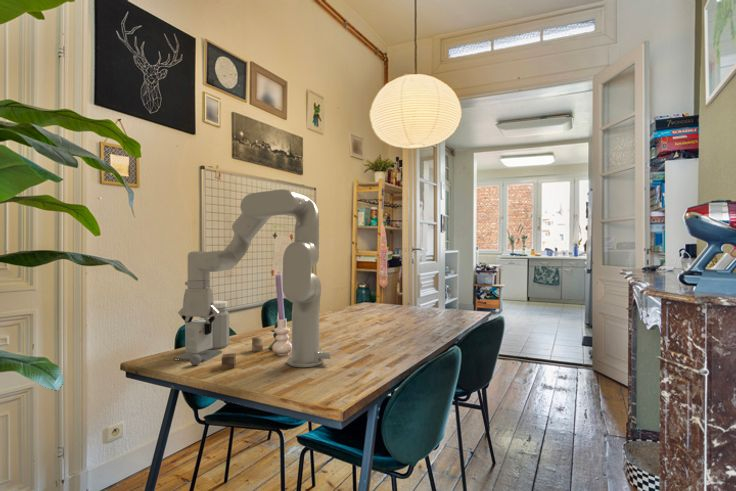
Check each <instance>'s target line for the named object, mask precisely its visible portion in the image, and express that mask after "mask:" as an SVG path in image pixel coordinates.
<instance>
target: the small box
mask: <svg viewBox="0 0 736 491" xmlns="http://www.w3.org/2000/svg"><path fill="white" fill-rule="evenodd" d="M205 324H206V321H205V320H204V318H202V319H198V320H197V319H196V320H194V321H193V320H192V322H188V323H185V322H184V326H185V327H184V331H185V332H184V333H185V334H184V335H185V338H184V339H185V342H184V345H185V347H184V348H185V352H191V353H199V352H202V351H205V350H212V349H211V348H212V347H213V340H212V331H211V333H210V334H208V335H205Z"/></svg>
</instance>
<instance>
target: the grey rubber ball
mask: <svg viewBox="0 0 736 491" xmlns="http://www.w3.org/2000/svg"><path fill="white" fill-rule="evenodd" d="M189 362H190V364H191V365H193V366H198V365H200V364H201V356H200V355H197V354H195V355H193V356H192V357H191V358H190V361H189Z"/></svg>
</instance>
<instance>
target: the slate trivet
mask: <svg viewBox="0 0 736 491" xmlns="http://www.w3.org/2000/svg"><path fill="white" fill-rule="evenodd" d="M222 353H223V350H219V349H208V350H205V351H202V352H199V353H191V352H186V351H185V352H183V353H181V354H179V355H177V356H175V357H173V359H179V360H178V361H180V360H190V358H191V357H192V356H193V355H195V354H197V355H200V356H201V361H205V362H207V361H209V360H211V359H213V358H215V357H216V356H218V355H220V354H222ZM173 359H172V360H173Z"/></svg>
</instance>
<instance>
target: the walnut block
mask: <svg viewBox="0 0 736 491" xmlns="http://www.w3.org/2000/svg"><path fill="white" fill-rule="evenodd" d="M236 355H237V354H236V353H223V355H222V356H221V370H229V369H232V368H234V369H235V367H236V365H237V364H236V363H237V362H236V361H237V360H236V357H237V356H236Z"/></svg>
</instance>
